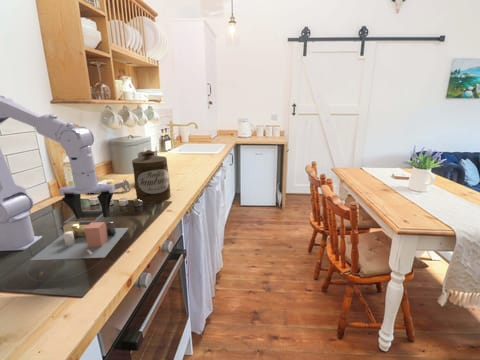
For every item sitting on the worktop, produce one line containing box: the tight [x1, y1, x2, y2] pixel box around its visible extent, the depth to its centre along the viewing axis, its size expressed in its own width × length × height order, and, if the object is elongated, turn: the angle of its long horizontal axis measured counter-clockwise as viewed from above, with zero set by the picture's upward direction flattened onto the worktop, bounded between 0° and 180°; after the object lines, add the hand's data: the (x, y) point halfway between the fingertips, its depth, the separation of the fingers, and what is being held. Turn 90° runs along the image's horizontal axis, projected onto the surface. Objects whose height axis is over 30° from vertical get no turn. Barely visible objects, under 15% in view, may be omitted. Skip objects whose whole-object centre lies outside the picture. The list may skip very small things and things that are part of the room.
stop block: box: [84, 221, 108, 247], centre depth 79 cm, size 4×4×6 cm
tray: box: [62, 209, 111, 226], centre depth 96 cm, size 11×11×2 cm
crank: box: [62, 220, 116, 239], centre depth 83 cm, size 15×4×4 cm, turn 92°
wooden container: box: [131, 149, 171, 204], centre depth 118 cm, size 15×15×22 cm
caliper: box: [84, 178, 131, 195], centre depth 129 cm, size 20×1×6 cm, turn 103°
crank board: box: [30, 227, 129, 261], centre depth 80 cm, size 20×18×5 cm
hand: (93, 216), depth 77 cm, fingers open, 7 cm apart
